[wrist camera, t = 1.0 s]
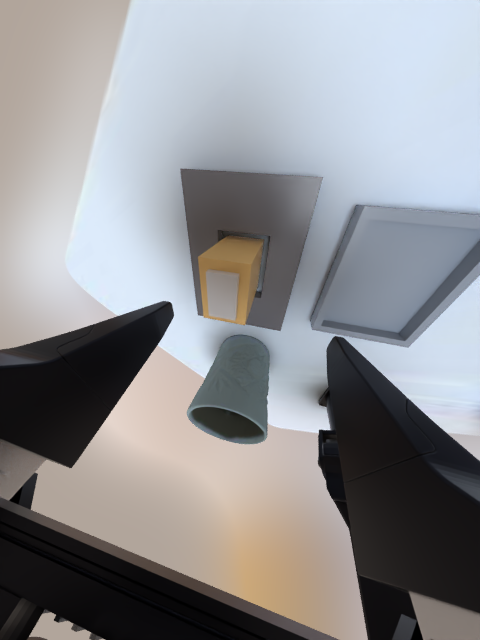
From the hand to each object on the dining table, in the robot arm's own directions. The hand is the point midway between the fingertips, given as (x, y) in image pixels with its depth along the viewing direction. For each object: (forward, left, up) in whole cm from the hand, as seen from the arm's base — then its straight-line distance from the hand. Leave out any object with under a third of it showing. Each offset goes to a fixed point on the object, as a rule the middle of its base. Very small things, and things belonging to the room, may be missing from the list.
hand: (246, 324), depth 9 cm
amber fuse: (-1, +3, -13) cm, 13 cm away
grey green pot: (-17, +1, -13) cm, 21 cm away
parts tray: (-1, -12, -13) cm, 17 cm away
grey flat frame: (-1, +3, -13) cm, 13 cm away
